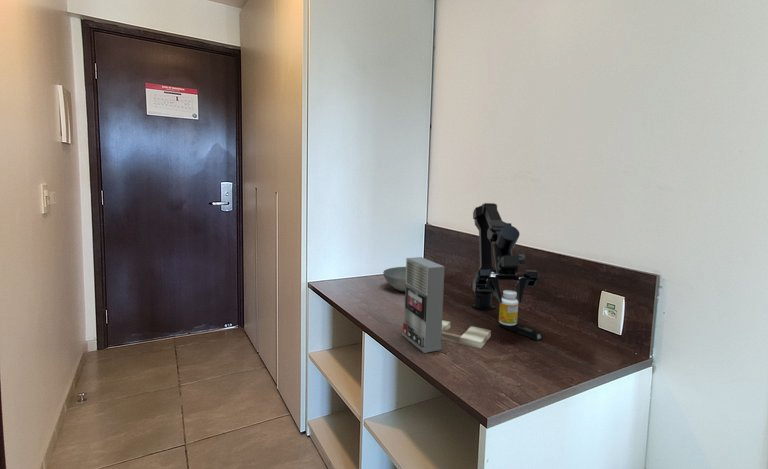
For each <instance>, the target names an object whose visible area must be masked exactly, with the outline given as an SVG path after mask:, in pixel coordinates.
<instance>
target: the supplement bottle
mask: <svg viewBox="0 0 768 469" xmlns="http://www.w3.org/2000/svg"><path fill="white" fill-rule="evenodd" d="M501 298H502V302H501V303H500V302H499V310H498V323H499V322H500V323H501V324H504V325H509V326H511V325H516V324H518V316H519V314H518V312H519V302H518V298H517V292H516V291H515V290H511V289H504V290H503V291H502V296H501Z"/></svg>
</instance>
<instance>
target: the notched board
mask: <svg viewBox="0 0 768 469" xmlns="http://www.w3.org/2000/svg"><path fill="white" fill-rule="evenodd" d="M449 329H451V321H448V320H443V319H442V335H441V341H447V342H451V343H454V344H459V345H463V346H468V347H471V348H476V349H482V348H483V347H484V345H485V344H486V343H487V341H488V340H490V338H491V337H492V336H491V335H492V330H490V329H487V328H483V327H478V326H472V325H470V326H469V328H468V329H467V330H465V332H463V334H462V335H460V334H455V333H451V332H447V331H448V330H449Z"/></svg>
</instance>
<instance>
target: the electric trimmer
mask: <svg viewBox="0 0 768 469" xmlns="http://www.w3.org/2000/svg"><path fill="white" fill-rule="evenodd" d="M498 325H499V326H501V328H504V329H506V330H509V331H511V332H512V333H517V334H520V335H522V336H525V337H527V338H529V339H532V340H533V341H534V342H539V341H542V340H543V335H542V333H541V332H540V331H538V330H537V329H535V328H533V329H532V328H529V327H526V326H525V325H522V324H519V323H517V324H516V325H511V326H509V325H504V324H501V323H500V322H499V321H498Z"/></svg>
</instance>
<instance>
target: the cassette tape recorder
mask: <svg viewBox="0 0 768 469" xmlns="http://www.w3.org/2000/svg"><path fill="white" fill-rule="evenodd" d="M405 260H406V261H405V262H406V263H405V267H406V285H405V293H404V294H405V295H404V320H403V321H404V322H403V325H402V327H403V328H402V332H401V336H402V337H403V338H405V339H406V340H408V342H409V343H411V344H412V345H413V346H414V347H416V348H417V349H418V350H420V351H421V352H422V353H423V354H427V353H432V352H437V351H442V350H443V349H442V347H443V346H442V340H441V335H442V320H443V311H444V309H443V308H444V288H445V269H446V268H445V265H441V264H439V263H436V262H434V261H431V260H429V259H426V257H425V258H424V257H421V256H418V257H417V256H415V257H406V259H405Z"/></svg>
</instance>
